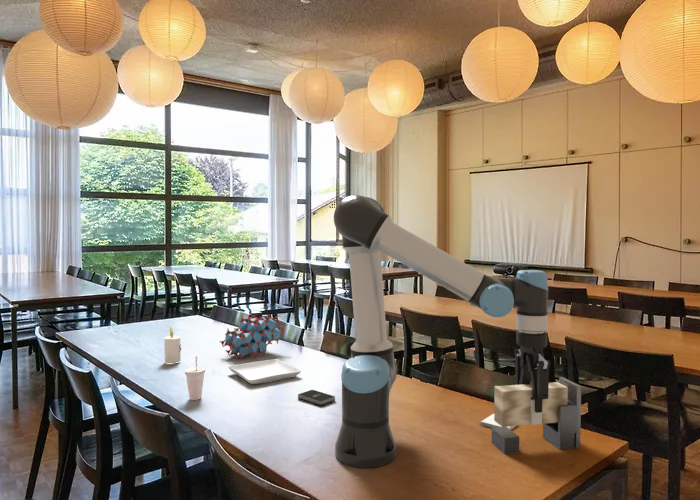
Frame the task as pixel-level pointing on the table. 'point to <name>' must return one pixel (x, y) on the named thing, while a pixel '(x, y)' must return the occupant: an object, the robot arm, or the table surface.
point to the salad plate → (264, 371)
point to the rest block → (505, 440)
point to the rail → (526, 404)
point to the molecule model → (252, 336)
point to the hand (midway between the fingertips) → (530, 419)
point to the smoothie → (195, 381)
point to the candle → (172, 348)
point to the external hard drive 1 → (316, 397)
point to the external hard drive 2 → (492, 423)
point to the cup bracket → (566, 420)
